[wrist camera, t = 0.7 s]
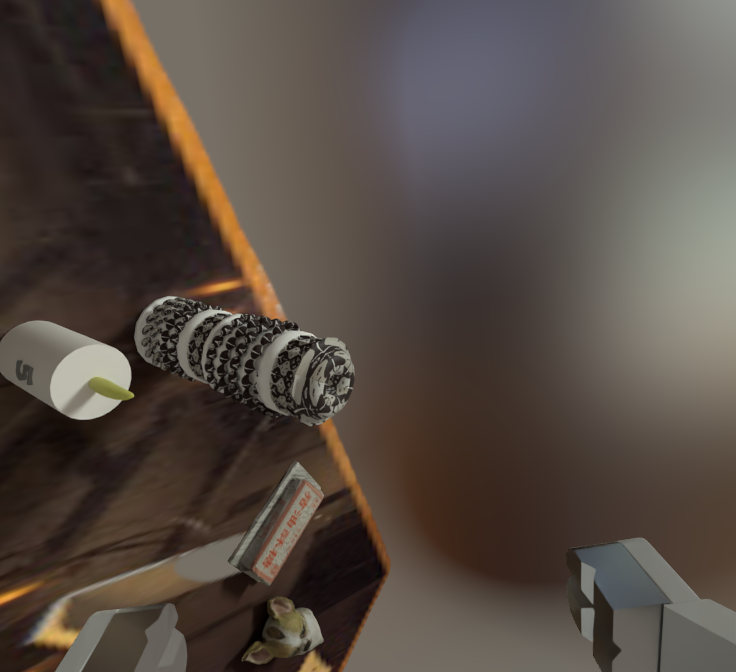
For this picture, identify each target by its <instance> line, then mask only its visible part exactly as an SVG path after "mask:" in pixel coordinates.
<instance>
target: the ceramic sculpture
mask: <svg viewBox="0 0 736 672" xmlns="http://www.w3.org/2000/svg"><path fill="white" fill-rule="evenodd" d="M267 612H268V614H269V615H270V616H269V617H268V619H267V621H266V623H265V626H264V628H263V632H262V638H263V641H262V642H261V641H255V642H254V643H252V644H251V645H250V647H249V648H248V649H247V650H246V652H245V653H244V655H243V656H242V658H241V660H242V661H247V662H250V663H254V664H257V665H259V664H262V663H264V664H266V663H268V662H269V661H270V660H271V659H272V658H274V657H282V658H284V657H285V658H288V657H292V656H295V655H298V654H304V653H306V652H307V651H310V650H312V649H313V648H314V647H316V646H317V645H318V644H320V643H323V638H322V635H321V631H320V628H319V626H318V623H317V621H316V619H315V617H314V615H313V613H312V611H311V610H309V609H307V608H297V609H295V608H294V604H293V602H292V601H291V600H289V599H287V598H286V597H282V596H273V597H271V598H269V599H268V600H267Z"/></svg>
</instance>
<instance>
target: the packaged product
mask: <svg viewBox="0 0 736 672" xmlns="http://www.w3.org/2000/svg"><path fill="white" fill-rule="evenodd" d="M320 489H321V487H320V486H319V485H318V484H317V483H316V482H315V480H314V479H313V478H312V477H311V476H310V475H309V474H308V473H307V472H306V470H305V469H304V468H303V467H302V466H301V465H300V464H299V463H298V461H294V462H293V463H292V465H291V466H290V468H289V469H288V471H287V472H286V474H285V476H284V478H283V480H282V481H281V482H280V484H279V485H278V486H277V488H276V489H275V491H274V492H273V493H272V495H271V496H270V498H269V499H268V501H267V502H266V504H265V505H264V507H263V508H262V510H261V511H260V512H259V514H258V515H257V517H256V519H255V520H254V521H253V523H252V525H251V527H250V528H249V530H248V531H247V533H246V534H245V535H244V537H243V539H242V540H241V542H240V544H239V545H238V547H237V548H236V549H235V551H234V552H233V554H232V555H231V556H230V558H229V559H228V562H229V563H230V564H232V565H233V566H235V567H236V568H237V569H239V570H240V571H242V572H244V573H245V574H247V575H249V576H250V577H251V578H253V579H255V580H256V581H259V582H262V583H263V584H265V585H267V586H269V585H271V583H272V581H273V580H274V578H275V577H276V575H277V574H278V572H279V570H280V569H281V567H282V565H283V564H284V562H285V561H286V559H287V557H288V556H289V554H290V552H291V551H292V549H293V547H294V546H295V544H296V543H297V541H298V539H299V538H300V536H301V534H302V532H303V531H304V529H305V527H306V526H307V524H308V522H309V521H310V519H311V517H312V515H313V514H314V512H315V511H316V509H317V507H318V506H319V504H320V502H321V501H322V499H323V497H324V494H323V493H322V491H320Z"/></svg>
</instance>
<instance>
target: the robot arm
mask: <svg viewBox="0 0 736 672" xmlns="http://www.w3.org/2000/svg"><path fill="white" fill-rule="evenodd" d="M566 565H567V567H568V568H569V570H570V572H571V573H572V576H571V577H570V579H569V580H568V581H567V598H568V602H569V606H570V610H571V613H572V616H573V618H574V620H575V623H576V625H577V627H578V629H579V631H580V633H581V634H582V635H583V636H584V637H586V638H587V639H589V640H590V641H592V642H593V656H594V658H595V660H596V662H597V664H598V665H599V667H600V669H601V671H602V672H736V612H734V611H732V610H730V609H728V608H726V607H724V606H722V605H720V604H718V603H716V602H714V601H712V600H710V599H703V600H700V598H699V597H698V596H697V595H696V594H695V593H694V592H693V591H692V590H691V589H690V588H689V586H688V585H687V584H686V583H685V582H684V581H683V580H682V579H681V578H680V577H679V575H678V574H677V573H676V572H675V571H674V570H673V569H672V568H671V567H670V566H669V564H668V563H667V562H666V561H665V560H664V559H663V558H662V557H661V556H660V555H659V554H658V552H657V551H656V550H655V549H654V548H653V547H652V546H651V545H650V544H649V542H648V541H647V540H645V539H643V538H634V539H628V540H621V541H617V542H610V543H603V544H597V545H589V546H582V547H575V548H569V549H568V551H567V554H566ZM177 620H178V615H177V612H176V609H175V606H174V605H173V604H170V603H165V604H156V605H147V606H138V607H129V608H121V609H117V610H107V611H97V612H96V613H94V614H93V615H92V616H90V617H89V619H88V620H87V622H86V624H85V625H84V627H83V628H82V630H81V631H80V633H79V635H78V636H77V638H76V639H75V641H74V643H73V644H72V646H71V647H70V649H69V650H68V652H67V654H66V655H65V657H64V658H63V660H62V662H61V663H60V665H59V666H58V668H57V669H56V671H55V672H185V670H186V663H187V648H186V642H185V639H184V635H183V634H181V633H180V632H179V631H178V630H176V629H175V628H174V627H175V625H176V622H177Z"/></svg>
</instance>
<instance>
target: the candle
mask: <svg viewBox="0 0 736 672" xmlns="http://www.w3.org/2000/svg"><path fill="white" fill-rule="evenodd" d="M0 372H1V374H2V375H3V376H4V377H5V378H6V379H7V380H9V381H11V382H12V383H14V384H15V385H17V386H19V387H20V388H22V389H24V390H25V391H27V392H28V393H30V394H32V395H33V396H35V397H36V398H38V399H40V400H41V401H43V402H45V403H46V404H48V405H49V406H51V407H53V408H54V409H56V410H58V411H59V412H61V413H63V414H64V415H66V416H68V417H70V418H74V419H79V420H87V419H93V418H97V417H101V416H103V415H104V414H106V413H108V412H110V411H111V410H113V409H114V408H115V407H116V406H117V405H119V403H120V402H121V401H122V400H128V399H131V398H133V397H134V394H133V393H132V392H130V391H128V389H129V386H130V382H131V368H130V365H129V362H128V360H127V359H126V357H125V356H124V355H123V354H122V353H121V352H120V351H118V350H117V349H116V348H113V347H111V346H108V345H106V344H103V343H101V342H99V341H96V340H94V339H91V338H89V337H86V336H84V335H81V334H79V333H76V332H74V331H71V330H69V329H66V328H64V327H61V326H59V325H56V324H54V323H51V322H48V321H29V322H26V323H23V324H20V325H18V326H16V327H15V328H13V329H11V330H10V331H9V332H8V333H7V334H6V335H5V336H4V337H3V338H2V340H1V342H0Z"/></svg>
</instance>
